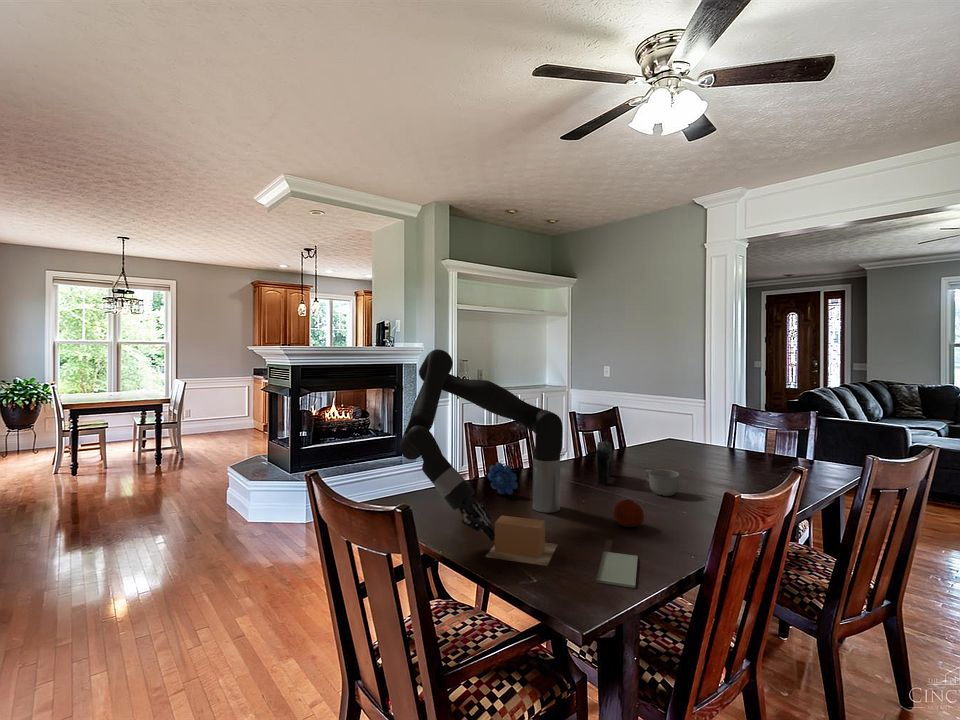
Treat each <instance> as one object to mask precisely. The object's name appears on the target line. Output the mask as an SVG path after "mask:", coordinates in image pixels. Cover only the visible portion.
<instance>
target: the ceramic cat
mask: <svg viewBox="0 0 960 720" xmlns="http://www.w3.org/2000/svg"><path fill="white" fill-rule="evenodd" d="M606 436H607V432H604V434H603V441H598V442H597V445H596V453H595V464H596V469H597V483H598V485H600V484H606V485H605V486H607V485H608V484H609V477H611V476H612V469H613V459H614V455H613V447H612V444H611V442H610V439H609V438H606V439H605V437H606Z"/></svg>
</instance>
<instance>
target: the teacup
mask: <svg viewBox="0 0 960 720" xmlns="http://www.w3.org/2000/svg"><path fill="white" fill-rule="evenodd" d="M643 476H644V478H645V479H646V481H647V482H648V483H649V488H650V490H651V491H652V492H654V494H656V495H659V496H661V495H663V496H664V497H670V496H674V495H675V494H676V493H678V491H679V489H680V477H681V476H680V473H679V472H677V471H674V470H671V469H661V468H660V469H654V470H652V469H646V470H645V471H644V475H643ZM663 496H662V497H663Z"/></svg>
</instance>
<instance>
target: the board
mask: <svg viewBox="0 0 960 720" xmlns="http://www.w3.org/2000/svg"><path fill="white" fill-rule="evenodd" d="M558 545H559V544H557V543H551V542H545V549H544V551H543V553H542V555H541V557H540V558H538V557H531V556H524V555H517V554H510V553H503V552H496V551H495V544H494V545H493V546H492V547H491V549H490V550H489V551H488V552H487V554H485V558H488V559H489V558H491V559H497V560H503V561H511V562H518V563H524V564H531V565H538V566H546V567H548V565H549V563H550V561H551V560H552V558H553V555H554V553H555V552H556V548H557V547H558Z"/></svg>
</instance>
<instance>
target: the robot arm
mask: <svg viewBox="0 0 960 720" xmlns="http://www.w3.org/2000/svg"><path fill="white" fill-rule="evenodd" d="M453 365H454V363H453V358H452V356H451V355H450V354H449V353H448V352H447V351H445V350H443V349H438V348H437V349H433V350H431V351H429V352H428V354H427V355H426V356H425V358H424V360H423V361H422V364H421V365H420V367H419V369H418V376H419V378H420V379H421V380H422V381H423V382H422V384H421V385H422V386H421V387H420V389H419V392H418V394H417V397H416V399H415V401H414V404H413V406H412V407H413V408H412V410H411V413H410V417H409V422H408V423H407V425H406V428H405V430H404V432H403V435H402V437H401V441H400V443H399V451H400V453H401V455H402V456H403V457H404V458H405V459H407V460H409V461H413V460H417V459H419V458H421V459H422V461H423V463H422V466H421V467H422V468H421V469H422V472H423V473H424V475H425V476H426V477H427V478H428V480H429V481H430V482H431V483H432V484H433V486H434V487H435V489H436V491H437V492H438V493H439V494H440V496H441V497H442V498H443V499H444V501H445V502H446V503H447V504H448V505H449V506H450V507H451V509H452V510H453V511H456V510H457V509H458V510H459V512H460V514H461V515H462V516H463V519H462V520H461V522H462V524H463V525H465V526H467V527H469V528H470V529H472V530H474V531H476V532H483V533H484V534H485V535H486V537H487V538H489V540H490V541H491V542H495V527H493V525H491V519H492V518H491V515H490V512H489V509H488V507H487V505H486V502H485V501H481V502H479V501H478V500H477V499H476V498H475V497H474V496H473V495H474V493H475V490H474V489H473V487H472V486H471V485H470V484H469V483H468V482H467V481H466V479H465V478H464V477H463V475H461V473H460V472H459V471H457V470H456V468H454V466H453V465H452V464H451V463H450V462H449V461H448V460H447V458H446V457H445V455H443V453H442V450H441V448H440V447H439V444H438V442H437V440H436V438H435V436H434V435H433V433H432V432H431V428H432V427H433V425H434V422H435V418H436V414H437V412H438V411H437V410H438V406H439V402H440V398H441V395H442V391H444V392H446V393H449V394H452V395H454V396H456V397H458V398H461V399H462V400H463V399H464V400H466V401H467V402H470V403H472V404H474V405H475V406H478V407H479V408H482V409H483V410H485V411H488V412H489V413H491V414H493V415H496V416H499V417H503V418H505V419H507V420H508V419H510V420H512V421H515V422H517V423H519V424H521V425H522V426H524V427H526V428H527V429H529V430H530V431H531V432H533V433H534V435H535V443H534V449H533V450H532V509H533V510H534V511H536V512H539V513H547V514H548V513H549V514H550V513H556V512H559V511H560V510H561V453H562V450H563V436H564V435H563V432H564V431H563V430H564V429H563V423H562V422H563V421H562V419H561V417H560V416H559V415H558V414H556V413H554V412H552V411H550V410H547V409H544V408H540V407H538V406H535V405H532V404H530V403H528V402H526V401H524V400H522V399H521V398H520V397H518V396H517V395H515V394H513V393H512V392H510V391H509V390H507V388H505V387H503V386H500V385H498V384H496V383H494V382H492V381H490V380H487V379H485V380H484V379H466V378H461V377H458V376H455V375H453V374H451V372H452V371H451V370H452V369H453Z"/></svg>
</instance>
